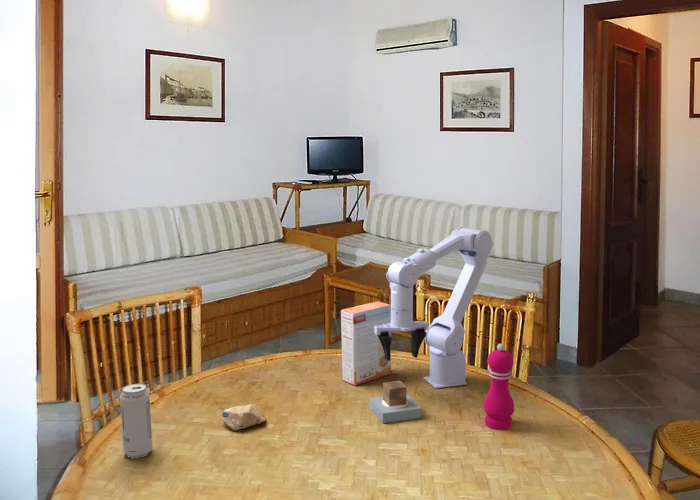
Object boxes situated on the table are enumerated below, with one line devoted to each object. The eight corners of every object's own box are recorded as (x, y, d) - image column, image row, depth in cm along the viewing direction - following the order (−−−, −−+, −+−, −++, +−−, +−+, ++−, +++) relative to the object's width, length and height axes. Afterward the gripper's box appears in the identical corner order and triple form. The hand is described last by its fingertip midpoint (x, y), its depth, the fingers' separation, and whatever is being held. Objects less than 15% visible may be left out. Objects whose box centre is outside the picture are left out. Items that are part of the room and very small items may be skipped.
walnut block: (399, 397, 170) (399, 380, 170) (406, 404, 166) (406, 386, 165) (382, 399, 169) (383, 382, 168) (389, 406, 165) (389, 389, 164)
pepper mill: (514, 432, 157) (517, 349, 153) (482, 429, 158) (485, 347, 155) (513, 419, 164) (516, 340, 160) (482, 416, 165) (485, 338, 162)
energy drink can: (123, 449, 149) (119, 384, 146) (151, 445, 151) (147, 381, 148) (124, 461, 143) (120, 394, 141) (153, 456, 145) (150, 391, 143)
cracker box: (377, 369, 198) (377, 300, 195) (391, 374, 194) (392, 304, 190) (340, 380, 190) (340, 308, 186) (354, 386, 185) (354, 312, 181)
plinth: (405, 402, 174) (405, 392, 174) (421, 417, 165) (421, 407, 164) (369, 407, 171) (369, 397, 171) (382, 423, 162) (382, 412, 161)
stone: (218, 423, 163) (217, 405, 162) (257, 413, 168) (257, 395, 168) (232, 436, 156) (231, 417, 155) (273, 425, 162) (272, 407, 161)
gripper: (380, 314, 170) (380, 365, 172) (433, 309, 174) (432, 359, 177) (371, 307, 177) (371, 357, 179) (422, 303, 181) (422, 351, 183)
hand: (401, 358), depth 178 cm, fingers open, 7 cm apart
